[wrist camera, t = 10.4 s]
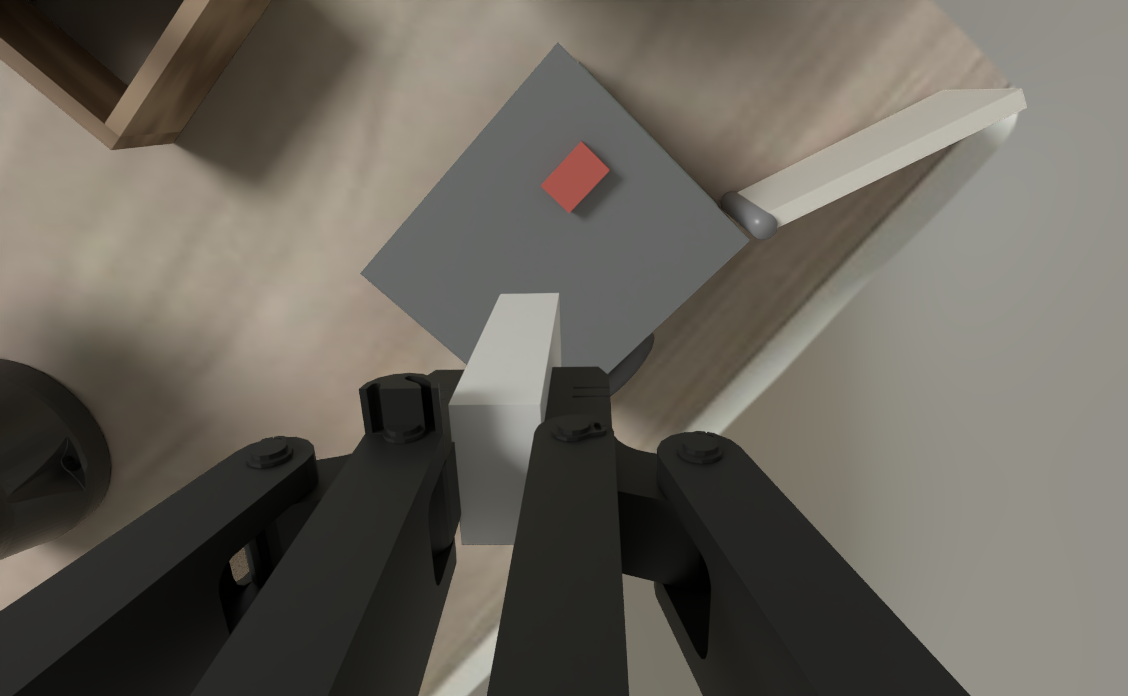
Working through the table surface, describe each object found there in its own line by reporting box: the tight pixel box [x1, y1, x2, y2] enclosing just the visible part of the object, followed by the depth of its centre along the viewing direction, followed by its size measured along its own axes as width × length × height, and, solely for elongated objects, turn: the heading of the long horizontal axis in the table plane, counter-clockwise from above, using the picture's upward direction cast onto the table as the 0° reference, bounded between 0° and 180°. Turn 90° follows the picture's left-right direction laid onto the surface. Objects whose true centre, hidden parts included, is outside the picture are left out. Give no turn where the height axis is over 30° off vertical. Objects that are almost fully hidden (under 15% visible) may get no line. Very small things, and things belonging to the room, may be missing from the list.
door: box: [721, 88, 1027, 240], centre depth 38 cm, size 2×14×9 cm, turn 118°
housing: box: [360, 43, 750, 396], centre depth 40 cm, size 16×16×10 cm
